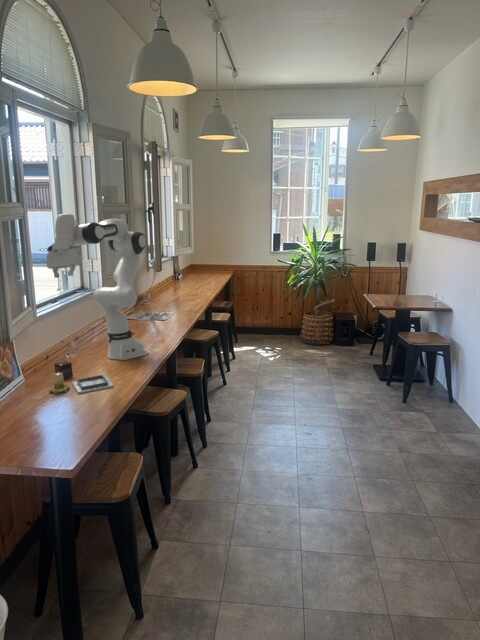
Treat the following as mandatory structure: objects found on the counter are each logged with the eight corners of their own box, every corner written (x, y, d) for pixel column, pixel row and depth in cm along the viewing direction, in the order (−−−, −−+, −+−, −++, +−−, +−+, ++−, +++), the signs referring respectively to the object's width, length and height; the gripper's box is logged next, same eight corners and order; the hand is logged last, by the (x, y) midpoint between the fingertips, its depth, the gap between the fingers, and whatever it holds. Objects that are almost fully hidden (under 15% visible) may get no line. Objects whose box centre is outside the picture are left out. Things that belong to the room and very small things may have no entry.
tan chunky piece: (68, 385, 227) (66, 369, 225) (71, 391, 220) (69, 374, 218) (48, 389, 223) (46, 373, 221) (50, 395, 216) (48, 378, 214)
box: (66, 373, 244) (65, 360, 243) (73, 376, 241) (71, 362, 239) (55, 377, 240) (53, 363, 238) (62, 379, 236) (60, 365, 234)
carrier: (105, 377, 237) (105, 372, 237) (113, 387, 224) (113, 382, 223) (72, 383, 230) (71, 379, 230) (78, 394, 216) (77, 389, 216)
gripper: (85, 246, 224) (84, 275, 223) (55, 251, 234) (54, 279, 233) (74, 243, 219) (73, 273, 217) (44, 248, 229) (43, 277, 227)
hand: (63, 276), depth 225 cm, fingers open, 8 cm apart
